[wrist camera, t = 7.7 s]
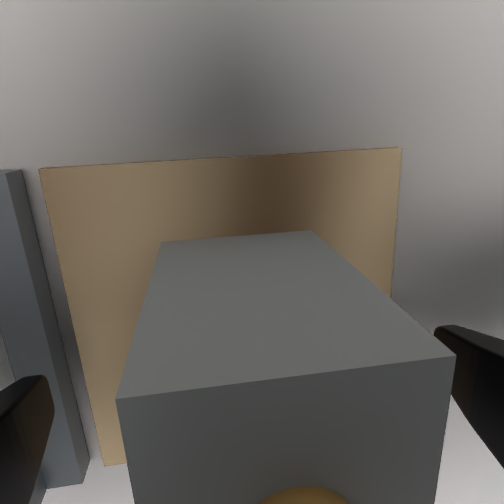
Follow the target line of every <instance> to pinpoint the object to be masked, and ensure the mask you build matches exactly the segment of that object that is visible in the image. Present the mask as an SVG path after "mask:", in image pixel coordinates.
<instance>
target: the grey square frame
mask: <svg viewBox="0 0 504 504" xmlns="http://www.w3.org/2000/svg"><path fill="white" fill-rule="evenodd" d="M0 330H1V333H2V337H3V340H4V344H5V347H6V351H7V354H8V357H9V361H10V364H11V368H12V371H13V375H14V378H15V381H18V380H19V379H21V378H22V377H25V376H32V375H44V376H46V378H47V379H48V382H49V386H50V390H51V394H52V398H53V401H54V406H55V415H54V420H53V423H52V427H51V431H50V434H49V438H48V442H47V446H46V449H45V453H44V457H43V460H42V464H41V468H40V471H39V475H38V478H37V482H36V485H35V488H34V491H33V494H32V497H31V499H30V502H29V504H41V502H42V500H43V497H44V495H45V492H46V490H47V489H50V488H56V487H62V486H69V485H75V484H82V483H83V481H84V478H85V475H86V471H87V468H88V465H89V462H90V459H89V455H88V451H87V447H86V442H85V438H84V434H83V430H82V425H81V421H80V417H79V413H78V408H77V404H76V400H75V396H74V392H73V387H72V383H71V379H70V375H69V370H68V366H67V362H66V358H65V353H64V349H63V345H62V341H61V337H60V332H59V328H58V324H57V320H56V315H55V311H54V307H53V303H52V298H51V294H50V290H49V286H48V282H47V277H46V273H45V269H44V265H43V260H42V256H41V252H40V248H39V243H38V239H37V235H36V231H35V227H34V222H33V218H32V214H31V210H30V205H29V201H28V197H27V193H26V188H25V184H24V180H23V176H22V172H21V169H19V170H2V171H0Z"/></svg>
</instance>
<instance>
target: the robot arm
mask: <svg viewBox="0 0 504 504" xmlns="http://www.w3.org/2000/svg"><path fill="white" fill-rule="evenodd" d="M434 336H435V337H436V338H437V339H438V340H439V341H441V342H442V343H443V344H444V345H445V346H446V347H447V348H449V349H450V350H451V351H452V352H453V353H454V354H456V355H457V356H456V362H455V369H454V376H453V382H452V389H451V395H452V397H453V398H454V400H455V401H456V403H457V405H458V406H459V408H460V409H461V411H462V413H463V414H464V416H465V417H466V419H467V420H468V422H469V423H470V424H471V426H472V427H473V429H474V430H475V431H476V433H477V434H478V435H479V437H480V438H481V439H482V441H483V442H484V443H485V445H486V446H487V447H488V449H489V450H490V451H491V453H492V454H493V455H494V456H495V458H496V459H497V460H498V462H499V463H500V464H501V466H502V467H503V468H504V340H502V339H499V338H495V337H492V336H489V335H486V334H482V333H479V332H476V331H473V330H470V329H466V328H463V327H460V326H457V325H445V326H438V327H437V328H436V329H435V331H434ZM54 415H55V406H54V401H53V398H52V394H51V390H50V386H49V382H48V379H47V378H46V376H44V375H32V376H25V377H22V378H21V379H19V380H18V381H16V382H14V383H13V384H11V385H10V386H8V387H7V388H5V389H3V390H2V391H0V504H29V502H30V499H31V497H32V494H33V491H34V488H35V485H36V482H37V478H38V475H39V471H40V468H41V464H42V460H43V457H44V453H45V449H46V446H47V442H48V438H49V434H50V431H51V427H52V423H53V420H54Z"/></svg>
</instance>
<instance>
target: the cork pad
mask: <svg viewBox="0 0 504 504" xmlns="http://www.w3.org/2000/svg"><path fill="white" fill-rule="evenodd" d="M401 157H402V148H397V147H395V148H378V149H361V150H344V151H326V152H309V153H292V154H275V155H258V156H241V157H224V158H207V159H190V160H173V161H156V162H139V163H122V164H105V165H88V166H70V167H53V168H42V169H38V170H39V175H40V179H41V184H42V188H43V193H44V197H45V202H46V206H47V211H48V215H49V220H50V224H51V229H52V233H53V238H54V242H55V247H56V251H57V256H58V260H59V265H60V269H61V274H62V279H63V283H64V288H65V292H66V297H67V301H68V306H69V310H70V315H71V319H72V324H73V328H74V333H75V337H76V342H77V346H78V351H79V355H80V360H81V364H82V369H83V373H84V378H85V382H86V387H87V391H88V396H89V400H90V405H91V409H92V414H93V418H94V423H95V427H96V432H97V436H98V441H99V445H100V450H101V454H102V459H103V463H104V466H109V465H116V464H123V463H127V460H126V455H125V449H124V444H123V439H122V434H121V428H120V423H119V418H118V413H117V407H116V402H115V397H116V394H117V390H118V387H119V384H120V380H121V377H122V374H123V370H124V367H125V363H126V360H127V357H128V353H129V350H130V346H131V343H132V340H133V336H134V333H135V329H136V326H137V323H138V319H139V316H140V312H141V309H142V306H143V302H144V299H145V295H146V292H147V289H148V285H149V282H150V278H151V275H152V272H153V268H154V265H155V261H156V258H157V255H158V251H159V248H160V244H161V242H168V241H180V240H193V239H205V238H218V237H230V236H243V235H255V234H268V233H280V232H293V231H305V230H312V231H313V232H315V233H316V234H317V235H318V236H319V237H320V238H322V239H323V240H324V241H325V242H326V243H327V244H329V245H330V246H331V247H332V248H333V249H334V250H335V251H337V252H338V253H339V254H340V255H341V256H342V257H344V258H345V259H346V260H347V261H348V262H349V263H350V264H352V265H353V266H354V267H355V268H356V269H357V270H359V271H360V272H361V273H362V274H363V275H364V276H365V277H367V278H368V279H369V280H370V281H371V282H372V283H374V284H375V285H376V286H377V287H378V288H379V289H380V290H382V291H383V292H384V293H385V294H386V295H387V296H389V297H390V298H391V286H392V273H393V260H394V247H395V234H396V221H397V208H398V196H399V183H400V170H401Z"/></svg>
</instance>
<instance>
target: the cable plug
mask: <svg viewBox="0 0 504 504" xmlns="http://www.w3.org/2000/svg"><path fill="white" fill-rule="evenodd" d="M456 356H457V355H456V354H454V353H453V352H452V351H451V350H450V349H449V348H447V347H446V346H445V345H444V344H443V343H442V342H441V341H439V340H438V339H437V338H436V337H435V336H434V335H432V334H431V333H430V332H429V331H428V330H427V329H426V328H424V327H423V326H422V325H421V324H420V323H419V322H417V321H416V320H415V319H414V318H413V317H412V316H411V315H409V314H408V313H407V312H406V311H405V310H404V309H402V308H401V307H400V306H399V305H398V304H397V303H395V302H394V301H393V300H392V299H391V298H390V297H389V296H387V295H386V294H385V293H384V292H383V291H382V290H380V289H379V288H378V287H377V286H376V285H375V284H374V283H372V282H371V281H370V280H369V279H368V278H367V277H365V276H364V275H363V274H362V273H361V272H360V271H359V270H357V269H356V268H355V267H354V266H353V265H352V264H350V263H349V262H348V261H347V260H346V259H345V258H344V257H342V256H341V255H340V254H339V253H338V252H337V251H335V250H334V249H333V248H332V247H331V246H330V245H329V244H327V243H326V242H325V241H324V240H323V239H322V238H320V237H319V236H318V235H317V234H316V233H315V232H313V231H312V230H305V231H293V232H280V233H268V234H255V235H243V236H230V237H218V238H205V239H193V240H180V241H168V242H161V244H160V248H159V251H158V255H157V258H156V261H155V265H154V268H153V272H152V275H151V278H150V282H149V285H148V289H147V292H146V295H145V299H144V302H143V306H142V309H141V312H140V316H139V319H138V323H137V326H136V329H135V333H134V336H133V340H132V343H131V346H130V350H129V353H128V357H127V360H126V363H125V367H124V370H123V374H122V377H121V380H120V384H119V387H118V390H117V394H116V397H115V402H116V407H117V413H118V418H119V423H120V428H121V434H122V439H123V444H124V449H125V455H126V460H127V465H128V470H129V476H130V481H131V486H132V491H133V497H134V502H135V504H434V502H435V495H436V488H437V482H438V475H439V469H440V462H441V455H442V449H443V442H444V435H445V429H446V422H447V415H448V409H449V402H450V396H451V389H452V382H453V376H454V369H455V362H456Z"/></svg>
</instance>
